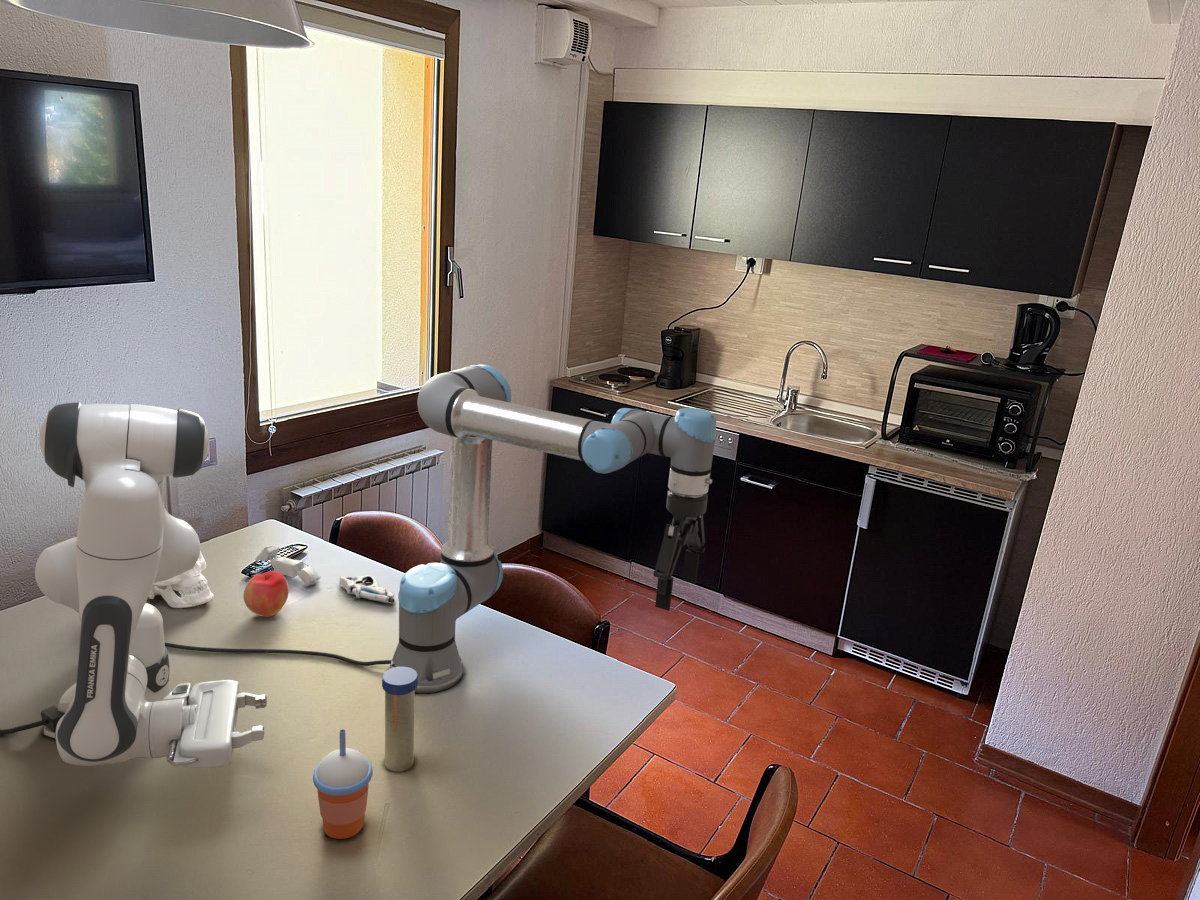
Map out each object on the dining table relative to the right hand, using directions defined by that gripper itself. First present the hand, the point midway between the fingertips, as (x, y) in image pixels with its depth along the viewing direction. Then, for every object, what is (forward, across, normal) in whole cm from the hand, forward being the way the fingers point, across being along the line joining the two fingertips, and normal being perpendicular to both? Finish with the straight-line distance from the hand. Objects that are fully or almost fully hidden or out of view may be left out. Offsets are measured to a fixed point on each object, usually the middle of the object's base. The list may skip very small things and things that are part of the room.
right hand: (676, 594), depth 165 cm
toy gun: (+28, +8, +83) cm, 88 cm away
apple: (+28, -14, +95) cm, 100 cm away
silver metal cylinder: (+28, -39, +35) cm, 60 cm away
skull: (+28, -20, +119) cm, 124 cm away
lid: (+10, -39, +35) cm, 54 cm away
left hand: (+15, -55, +50) cm, 76 cm away
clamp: (+28, +3, +107) cm, 110 cm away
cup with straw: (+28, -56, +32) cm, 71 cm away
